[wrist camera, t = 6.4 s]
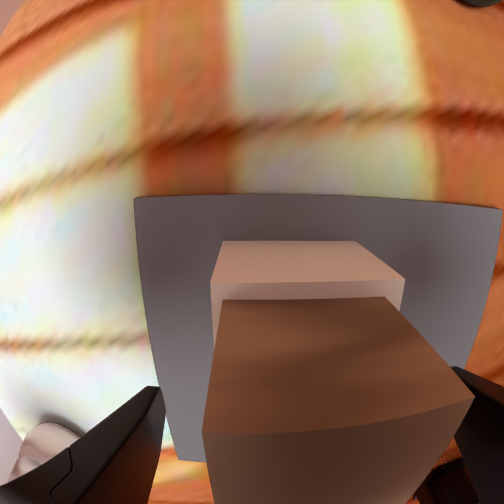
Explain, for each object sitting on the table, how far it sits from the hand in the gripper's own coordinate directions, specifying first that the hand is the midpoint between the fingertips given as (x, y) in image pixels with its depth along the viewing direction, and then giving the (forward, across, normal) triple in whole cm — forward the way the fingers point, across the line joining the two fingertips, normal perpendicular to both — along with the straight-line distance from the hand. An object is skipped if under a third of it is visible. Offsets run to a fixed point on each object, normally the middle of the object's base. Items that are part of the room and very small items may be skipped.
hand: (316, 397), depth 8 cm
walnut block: (+2, 0, 0) cm, 2 cm away
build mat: (+7, -3, +4) cm, 9 cm away
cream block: (+7, 0, 0) cm, 7 cm away
